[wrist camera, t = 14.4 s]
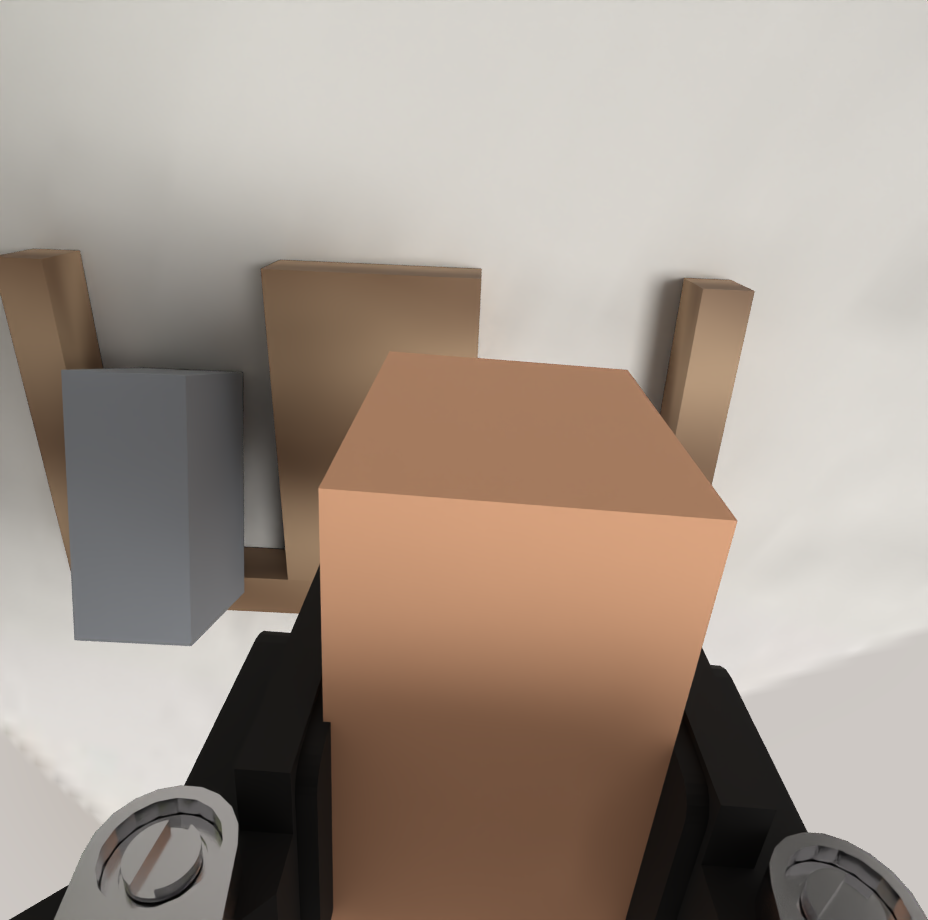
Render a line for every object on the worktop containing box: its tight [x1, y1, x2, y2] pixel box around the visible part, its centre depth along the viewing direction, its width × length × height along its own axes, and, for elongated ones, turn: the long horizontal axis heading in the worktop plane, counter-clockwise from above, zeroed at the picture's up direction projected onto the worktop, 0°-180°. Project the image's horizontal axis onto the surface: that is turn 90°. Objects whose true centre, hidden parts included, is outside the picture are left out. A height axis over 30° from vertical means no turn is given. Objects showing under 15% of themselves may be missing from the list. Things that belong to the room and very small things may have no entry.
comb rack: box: [0, 249, 755, 613], centre depth 23 cm, size 12×22×2 cm, turn 88°
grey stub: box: [61, 368, 244, 646], centre depth 21 cm, size 8×4×4 cm, turn 178°
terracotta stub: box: [318, 351, 737, 920], centre depth 9 cm, size 8×4×4 cm, turn 176°
